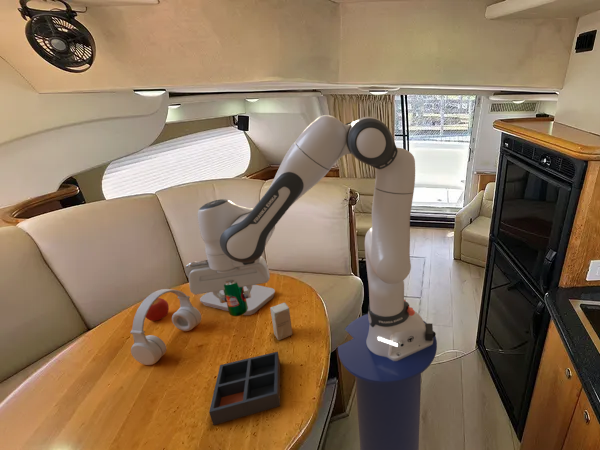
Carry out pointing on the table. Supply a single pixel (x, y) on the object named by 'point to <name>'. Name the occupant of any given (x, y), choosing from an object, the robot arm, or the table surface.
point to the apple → (158, 310)
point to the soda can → (235, 298)
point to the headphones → (152, 346)
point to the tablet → (254, 303)
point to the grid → (246, 388)
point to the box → (281, 321)
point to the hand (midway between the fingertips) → (236, 299)
